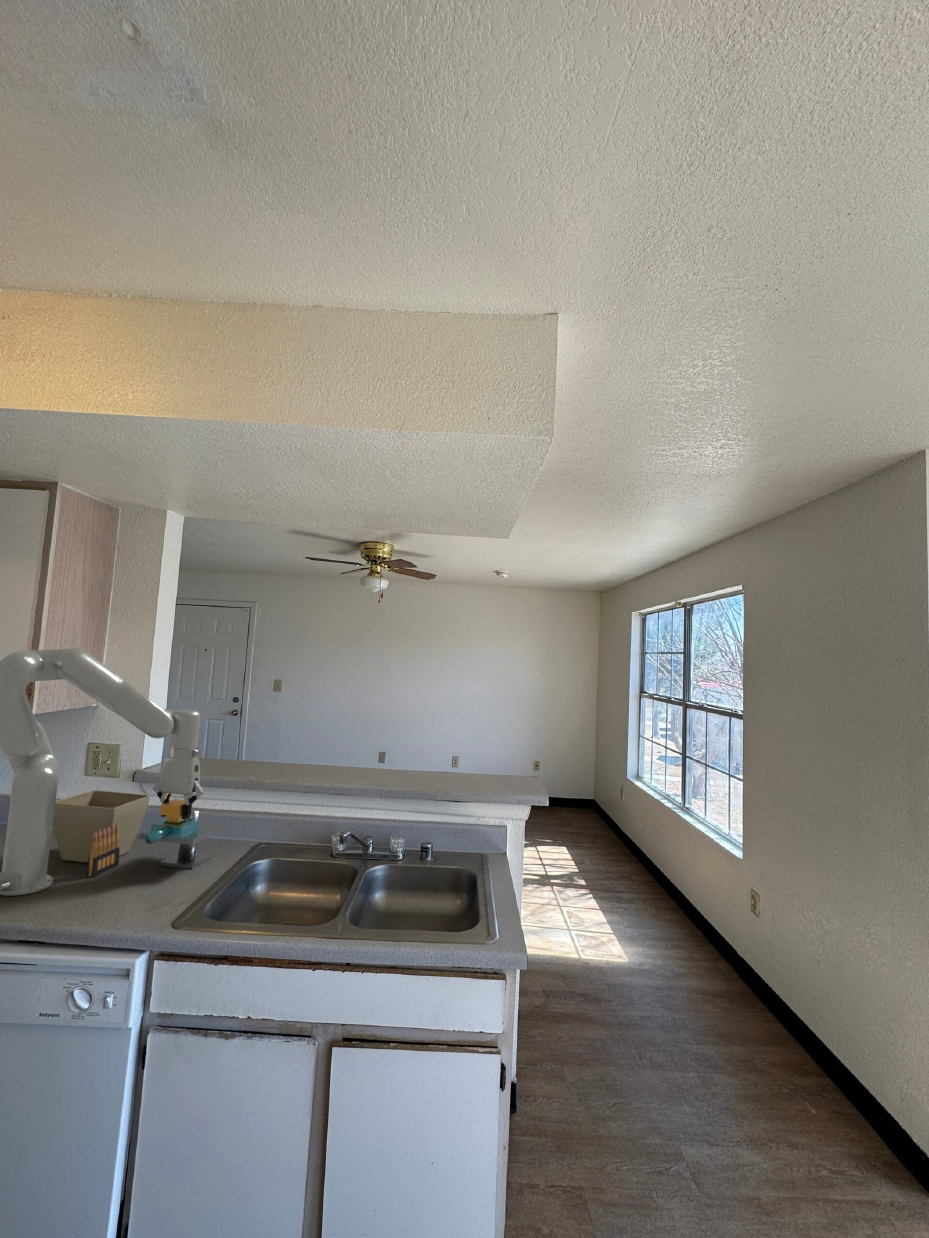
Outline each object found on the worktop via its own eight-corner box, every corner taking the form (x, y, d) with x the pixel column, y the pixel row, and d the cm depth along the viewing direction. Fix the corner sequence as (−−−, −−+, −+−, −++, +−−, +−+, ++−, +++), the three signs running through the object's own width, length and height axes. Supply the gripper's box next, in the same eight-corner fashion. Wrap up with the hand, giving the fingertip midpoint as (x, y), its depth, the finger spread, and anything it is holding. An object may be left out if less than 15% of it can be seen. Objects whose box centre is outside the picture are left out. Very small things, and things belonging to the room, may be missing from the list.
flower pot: (87, 843, 190) (94, 788, 191) (146, 849, 189) (152, 794, 190) (41, 863, 171) (49, 802, 172) (106, 869, 170) (113, 808, 171)
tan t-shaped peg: (171, 830, 177) (174, 798, 178) (189, 832, 176) (192, 800, 177) (157, 836, 171) (161, 803, 171) (176, 838, 170) (179, 805, 171)
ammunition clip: (92, 877, 164) (96, 831, 164) (86, 877, 164) (89, 831, 165) (118, 864, 174) (122, 821, 175) (112, 864, 174) (116, 821, 175)
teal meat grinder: (172, 852, 188) (178, 803, 189) (221, 858, 186) (226, 808, 187) (117, 880, 163) (123, 823, 164) (172, 887, 161) (179, 829, 162)
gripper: (217, 754, 178) (210, 817, 177) (162, 748, 180) (155, 810, 179) (203, 757, 170) (196, 823, 169) (146, 752, 173) (139, 817, 171)
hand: (175, 816), depth 174 cm, fingers closed on tan t-shaped peg, 5 cm apart
